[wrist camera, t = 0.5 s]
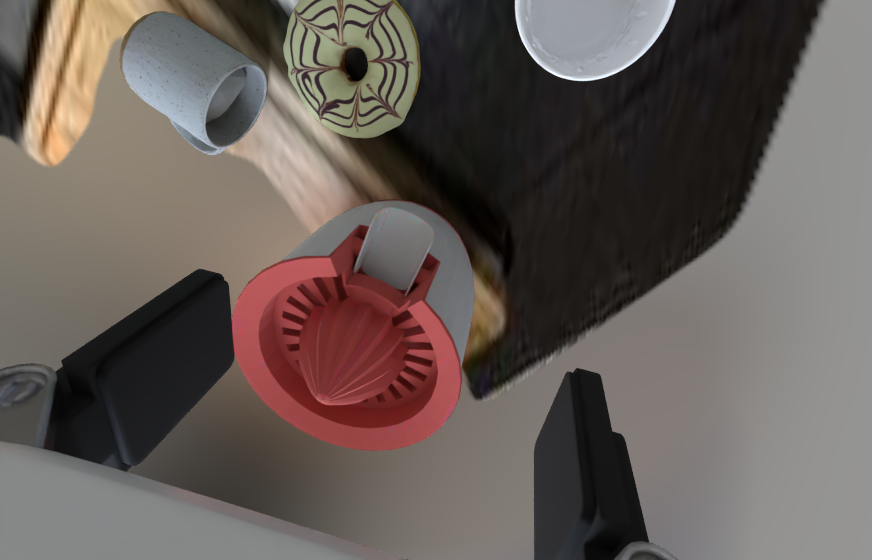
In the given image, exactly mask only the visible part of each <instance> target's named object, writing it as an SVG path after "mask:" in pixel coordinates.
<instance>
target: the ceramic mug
mask: <svg viewBox="0 0 872 560" xmlns="http://www.w3.org/2000/svg"><path fill="white" fill-rule="evenodd" d="M120 68H121V72H122V75H123V77H124V79H125V81H126V82H127V84H128V85H129V86H130V88H131V89H132V90H133V91H134V92H135V93H136V94H137V95H138V96H139V97H140V98H142V99H143V100H144V101H145V102H147V103H148V104H150V105H151V106H152V107H154V108H155V109H157V110H158V111H160V112H162V113H163V114H165V115H166V116H168V117H169V118H170V121H171V123H172V124H173V125H174V127H175V128H176V130H177V131H178V132H179V133H180V134H181V135H182V137H184V138H185V140H187V141H188V142H189V143H190V144H191V145H193V146H194V147H195V148H197V149H198V150H200V151H202V152H204V153H206V154H208V155H216V154H219V153H221V152H222V151H224V150H225V149H227V148H228V147H229V146H231V145H233V144H235V143H236V142H238V141H239V140H240V139H241V138H242V137H244V135H245V134H246V133H247V132H248V131H249V130H250V128H251V127H252V126H253V125H254V123H255V122H256V120H257V118H258V116H259V114H260V112H261V109H262V107H263V104H264V101H265V96H266V91H267V80H266V75H265V73H264V71H263V69H262V68H261V67H260V65H259V64H257V63H256V62H254V61H253V60H251V59H249V58H248V57H246V56H245V55H243V54H241V53H240V52H238V51H237V50H235V49H233V48H232V47H230V46H229V45H227V44H226V43H224V42H222V41H221V40H219V39H217V38H216V37H214V36H212V35H211V34H209V33H208V32H206V31H205V30H203V29H202V28H200V27H199V26H197V25H196V24H194V23H192V22H191V21H189V20H187V19H185V18H182V17H180V16H178V15H176V14H173V13H169V12H163V11H162V12H153V13H150V14H147V15H145V16H143V17H142V18H140V19H139V20H137V21H136V22H135V23H134V24H133V25H132V26H131V28H130V29H129V31H128V32H127V33H126V35H125V36H124V39H123V42H122V45H121V49H120Z"/></svg>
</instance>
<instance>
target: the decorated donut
mask: <svg viewBox="0 0 872 560" xmlns="http://www.w3.org/2000/svg"><path fill="white" fill-rule="evenodd" d="M352 48H359V49H362V50H363V51H364V52H365V54H366V57H367V61H368V69H367V73H366V75H365V76H364V78H363V79H362V80H360V81H357V82H356V81H354V80H352V79H351V76H350V75H348V73H347V72H346V68H345V61H344V60H345V54H346V52H347V51H349V49H352ZM283 51H284V56H285V60H286V62H287V64H288V76H289V78H290V80H291V82H292V83H293V86H294V87H295V88H296V90H297V91H298V94H299V97H300V98H301V100H302V101H303V103H304V105H305V106H306V108H307V109H308V111H309V112H310V113H311V115H312V116H313V117H314V118H315V119H317V120H318V121H319V122H320V123H322V124H323V125H324V126H326V127H327V128H329V129H330V130H331V131H334V132H337V133H339V134H342V135H345V136H348V137H353V138H371V137H376V136H379V135H381V134H383V133H385V132H387V131H389V130H391V129H393V128H395V127H397V126H399V125H401V124H402V123H403V122H404V120H405V117H406V115H407V113H408V111H409V109H410V107H411V104H412V102H413V100H414V97H415V95H416V92H417V88H418V84H419V79H420V69H421V66H420V52H419V43H418V40H417V35H416V32H415V29H414V26H413V24H412V22H411V20H410V18H409V16H408V15H407V14H406V12H405V11H404V10H403V8H402V7H401V6H400V4H399V3H398V2H397V1H396V0H299V2H298V4H297V5H296V6H295V8H294V10H293V13H292V15H291V17H290V21H289V24H288V28H287V34H286V39H285V42H284V45H283Z"/></svg>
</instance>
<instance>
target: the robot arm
mask: <svg viewBox="0 0 872 560" xmlns="http://www.w3.org/2000/svg"><path fill="white" fill-rule="evenodd" d="M233 361H234V343H233V331H232V319H231V307H230V295H229V285H228V283H227V282H226V281H224V277H223V276H222V275H221V274H219V273H215V272H211V271H207V270H203V269H198V270H196V271H194V272H193V273H191V274H190V275H188V276H187V277H185V278H184V279H182V280H181V281H179V282H178V283H176V284H175V285H173V286H172V287H170V288H169V289H167V290H166V291H164V292H163V293H161V294H160V295H158V296H157V297H155V298H154V299H152V300H151V301H149V302H148V303H146V304H145V305H143V306H142V307H140V308H139V309H138V310H136V311H134V312H133V313H132V314H130V315H128V316H127V317H125V318H124V319H122V320H121V321H119V322H118V323H116V324H115V325H114V326H112V327H111V328H109V329H108V330H106V331H105V332H103V333H102V334H100V335H99V336H97V337H96V338H94V339H93V340H91V341H90V342H88V343H87V344H85V345H84V346H82V347H81V348H79V349H78V350H76V351H75V352H73V353H72V354H70V355H69V356H67V357H66V358H64V359H63V360H62V364H63V367H62V368H60V369H59V370H57V371H56V372H55V371H54V370H53V369H52V368H51V367H48V366H46V365H42V364H32V363H31V364H20V365H15V366H11V367H6V368H3V369H0V560H408V559H405V558H402V557H398V556H395V555H392V554H389V553H386V552H382V551H379V550H376V549H373V548H370V547H367V546H364V545H360V544H357V543H354V542H351V541H348V540H345V539H342V538H338V537H335V536H332V535H329V534H326V533H322V532H319V531H316V530H313V529H309V528H306V527H303V526H300V525H296V524H294V523H290V522H287V521H284V520H281V519H278V518H274V517H271V516H268V515H265V514H262V513H258V512H255V511H252V510H249V509H245V508H242V507H239V506H236V505H232V504H229V503H226V502H223V501H219V500H216V499H213V498H210V497H206V496H203V495H200V494H197V493H193V492H190V491H187V490H184V489H180V488H177V487H174V486H171V485H167V484H164V483H160V482H157V481H154V480H151V479H148V478H144V477H141V476H138V475H134V474H131V473H128V472H127V470H128V469H129V468H130V467H131V466H132V465H133V466H135V465H138V464H139V463H141V462H142V461H143V460H144V459H145V458H146V457H147V456H148V455H149V454H150V452H152V450H153V449H154V448H155V447H156V446H157V445H158V444H159V443H160V442H161V441H162V440H163V439H164V438H165V437H166V435H167V434H168V433H169V432H170V431H171V430H172V429H173V428H174V427H175V426H176V425H177V424H178V423H179V422H180V421H181V419H182V418H183V417H184V416H185V415H186V414H187V413H188V412H189V411H190V410H191V409H192V408H193V407H194V406H195V405H196V404H197V402H198V401H199V400H200V399H201V398H202V397H203V396H204V395H205V394H206V393H207V392H208V391H209V390H210V389H211V387H212V386H213V385H214V384H215V383H216V382H217V381H218V380H219V379H220V378H221V377H222V376H223V374H224V373H225V372H226V371H227V370H228V369H229V368H230V367H231V365H232V363H233ZM534 560H678V559H677V558H676V557H674V556H673V555H672V554H670V553H669V552H668V551H666V550H665V549H663V548H661V547H659V546H657V545H655V544H653V543H649V540H648V536H647V531H646V527H645V523H644V518H643V514H642V510H641V506H640V501H639V497H638V493H637V489H636V484H635V480H634V476H633V472H632V467H631V463H630V459H629V454H628V450H627V446H626V442H625V439H624V437H623V436H622V435H621V434H619V433H616V432H612V428H611V423H610V419H609V414H608V409H607V404H606V400H605V394H604V390H603V384H602V380H601V376H600V375H599V374H597V373H594V372H590V371H587V370H583V369H579V368H576V369H575V371H574V372H573V373H572V372H567V373H566V374H565V376H564V379H563V381H562V383H561V386H560V388H559V390H558V393H557V395H556V397H555V399H554V401H553V404H552V406H551V409H550V411H549V413H548V415H547V417H546V420H545V422H544V425H543V427H542V429H541V431H540V434H539V436H538V438H537V441H536V444H535V450H534Z"/></svg>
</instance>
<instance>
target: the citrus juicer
mask: <svg viewBox="0 0 872 560" xmlns="http://www.w3.org/2000/svg"><path fill="white" fill-rule="evenodd" d="M474 297H475V296H474V281H473V272H472V268H471V264H470V259H469V256H468V252H467V249H466V247H465V245H464V243H463V241H462V239H461V237H460V235H459V234H458V233H457V231H456V230H455V229H454V228H453V226H452V225H451V224H450V223H449V222H448V221H447V220H446V219H445V218H443V217H442V216H441V215H440V214H439V213H437V212H435V211H434V210H432V209H430V208H428V207H427V206H424V205H421V204H418V203H415V202H411V201H405V200H399V199H392V200H381V201H377V202H373V203H369V204H365V205H361V206H358V207H355V208H353V209H350V210H348V211H346V212H344V213H342V214H340V215H338V216H336V217H334V218H333V219H331V220H330V221H328V222H327V223H325V224H324V225H323V226H321V227H320V228H319V229H318V230H317V231H316V232H314V233H313V234H312V235H311V236H310V237H308V238H307V239H306V240H305V241H304V242H303V243H301V244H300V245H299V246H298V247H297V248H296V249H295V250H293V251H292V252H291V253H290V254H289V255H288V256H286V257H285V258H284V259H283V260H282V261H280V262H278V263H276V264H274V265H272V266H270V267H268V268H266V269H264V270H263V271H261V272H260V273H259V274H258V275H256V276H255V277H254V278H253V279H252V280H251V281H250V282H248V284H247V285H246V287H245V288H244V290H243V291H242V293H241V294H240V296H239V297H238V300H237V303H236V306H235V310H234V313H233V316H232V331H233V343H234V353H235V355H236V358H237V360H238V363H239V365H240V368H241V370H242V372H243V374H244V375H245V377H246V379H247V380H248V382H249V384H250V385H251V387H252V388H253V389H254V390H255V392H256V393H257V394H258V395H259V396H260V398H261V399H262V400H263V401H264V402H265V403H266V404H267V405H268V406H269V407H270V408H271V409H272V410H274V411H275V412H276V413H277V414H278V415H279V416H280V417H282V418H283V419H285V420H286V421H288V422H289V423H290V424H292V425H293V426H295V427H296V428H298V429H300V430H302V431H304V432H306V433H308V434H309V435H311V436H313V437H315V438H318V439H321V440H323V441H326V442H329V443H331V444H334V445H338V446H343V447H347V448H351V449H359V450H369V451H378V450H393V449H397V448H402V447H406V446H410V445H412V444H415V443H417V442H419V441H421V440H423V439H426V438H427V437H429V436H430V435H431V434H433V433H434V432H435V431H437V430H438V429H439V428H440V427H441V426H442V425H443V424H444V423H445V421H446V420H447V419H448V418H449V417H450V415H451V414H452V412H453V410H454V408H455V406H456V404H457V402H458V399H459V396H460V390H461V384H462V372H461V366H462V362H463V357H464V353H465V348H466V344H467V339H468V335H469V330H470V325H471V320H472V313H473V306H474Z"/></svg>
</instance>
